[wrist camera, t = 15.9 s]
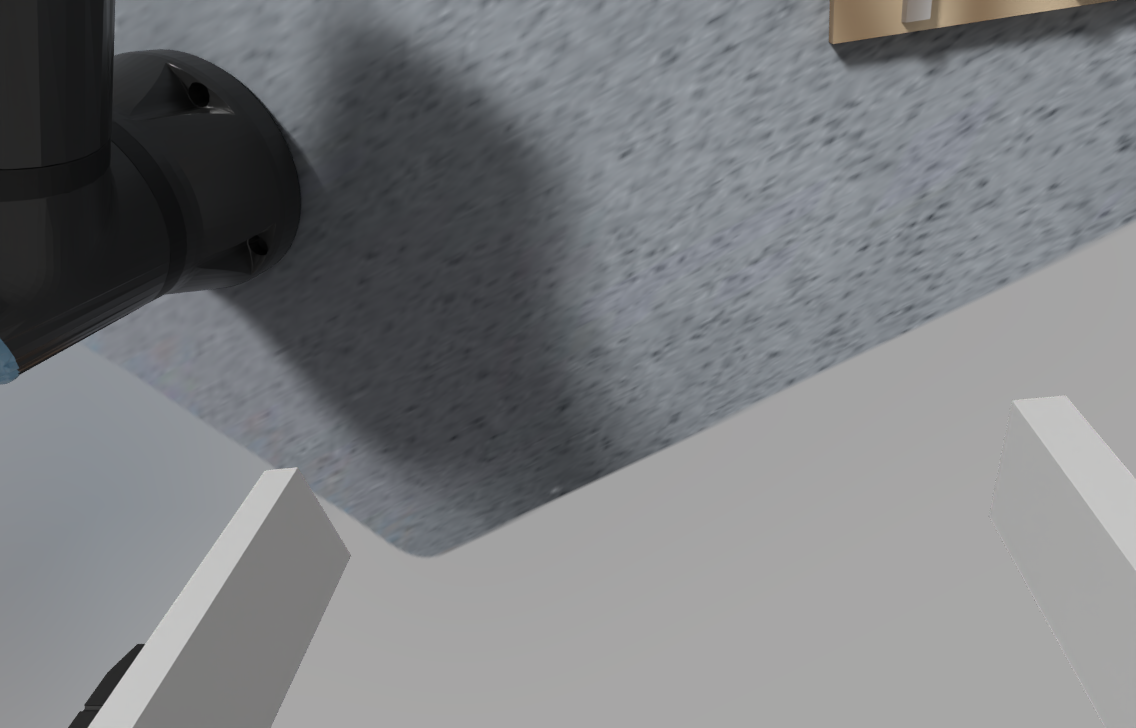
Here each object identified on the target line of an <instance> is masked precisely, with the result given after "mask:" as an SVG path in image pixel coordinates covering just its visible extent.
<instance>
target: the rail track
mask: <svg viewBox="0 0 1136 728" xmlns="http://www.w3.org/2000/svg"><path fill="white" fill-rule="evenodd" d="M1108 1H1115V0H830V18H829V42H830V43H832V44H837V43H843V42H849V41H856V40H862V39H869V38H875V37H882V36H888V35H895V34H901V33H908V32H914V31H921V30H927V29H934V28H940V27H947V26H953V25H959V24H966V23H972V22H979V21H985V20H992V19H998V18H1005V17H1011V16H1018V15H1024V14H1031V13H1037V12H1044V11H1050V10H1057V9H1063V8H1069V7H1076V6H1082V5H1089V4H1095V3H1102V2H1108Z"/></svg>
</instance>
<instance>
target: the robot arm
mask: <svg viewBox="0 0 1136 728" xmlns="http://www.w3.org/2000/svg"><path fill="white" fill-rule="evenodd" d="M114 27H115V0H0V384H7V383H10V382H11V381H13V380H14V379H16V378H17V377H18V376H19V375H20V374H21V373H23V372H25V371H27V370H29V369H30V368H32V367H34V366H36V365H38V364H40V363H41V362H43V361H45V360H47V359H49V358H50V357H52V356H54V355H56V354H57V353H59V352H61V351H63V350H65V349H67V348H68V347H70V346H72V345H74V344H76V343H77V342H79V341H81V340H83V339H85V338H86V337H88V336H90V335H92V334H94V333H95V332H97V331H99V330H101V329H103V328H104V327H106V326H108V325H110V324H112V323H113V322H115V321H117V320H119V319H121V318H122V317H124V316H126V315H128V314H130V313H131V312H133V311H135V310H137V309H139V308H140V307H142V306H144V305H145V304H147V303H149V302H151V301H153V300H155V299H157V298H159V297H160V296H162V295H165V294H174V293H183V292H192V291H201V290H209V289H218V288H226V287H231V286H234V285H237V284H241V283H243V282H246V281H248V280H250V279H252V278H253V277H255V276H257V275H259V274H260V273H262V272H264V271H265V270H267V269H269V268H270V267H272V266H273V265H274V264H276V263H277V262H278V261H279V260H280V259H281V258H282V257H283V256H284V254H285V253H286V252H287V250H288V249H289V247H290V245H291V243H292V241H293V239H294V237H295V234H296V231H297V227H298V223H299V217H300V189H299V183H298V177H297V173H296V169H295V166H294V162H293V159H292V157H291V154H290V151H289V149H288V147H287V145H286V142H285V140H284V138H283V136H282V134H281V133H280V131H279V129H278V127H277V126H276V124H275V123H274V121H273V120H272V118H271V117H270V115H269V114H268V112H267V111H266V110H265V108H264V107H263V106H262V105H261V104H260V102H259V101H258V100H257V99H256V98H255V97H254V96H253V95H252V94H251V93H250V92H249V91H248V90H247V89H246V88H245V87H244V86H243V85H242V84H241V83H240V82H238V81H237V80H236V79H235V78H234V77H232V76H231V75H230V74H228V73H227V72H225V71H224V70H222V69H221V68H219V67H217V66H216V65H214V64H212V63H210V62H208V61H206V60H204V59H202V58H199V57H197V56H194V55H191V54H188V53H184V52H180V51H174V50H163V49H160V50H146V51H136V52H128V53H122V54H118V55H115V56H114ZM989 518H990V520H991V522H992V523H993V525H994V527H995V529H996V531H997V532H998V534H999V536H1000V538H1001V540H1002V542H1003V543H1004V545H1005V547H1006V549H1007V551H1008V552H1009V554H1010V556H1011V558H1012V560H1013V562H1014V563H1015V565H1016V567H1017V569H1018V571H1019V573H1020V574H1021V576H1022V578H1023V580H1024V582H1025V583H1026V585H1027V587H1028V589H1029V591H1030V592H1031V594H1032V596H1033V598H1034V600H1035V602H1036V603H1037V605H1038V607H1039V609H1040V611H1041V613H1042V614H1043V616H1044V618H1045V620H1046V621H1047V623H1048V625H1049V627H1050V629H1051V631H1052V633H1053V634H1054V636H1055V638H1056V640H1057V641H1058V643H1059V645H1060V647H1061V649H1062V651H1063V653H1064V654H1065V656H1066V658H1067V660H1068V662H1069V663H1070V665H1071V667H1072V669H1073V671H1074V673H1075V674H1076V676H1077V678H1078V680H1079V682H1080V683H1081V685H1082V687H1083V689H1084V691H1085V692H1086V695H1087V696H1088V698H1089V700H1090V702H1091V704H1092V705H1093V707H1094V709H1095V711H1096V713H1097V715H1098V716H1099V718H1100V720H1101V722H1102V724H1103V725H1104V727H1105V728H1136V479H1135V478H1134V476H1133V475H1132V474H1131V473H1130V472H1129V470H1128V469H1127V468H1126V467H1125V466H1124V464H1123V463H1122V462H1121V461H1120V460H1119V459H1118V458H1117V456H1116V455H1115V454H1114V453H1113V452H1112V450H1111V449H1110V448H1109V447H1108V446H1107V444H1106V443H1105V442H1104V441H1103V440H1102V438H1101V437H1100V436H1099V435H1098V434H1097V432H1096V431H1095V430H1094V429H1093V428H1092V427H1091V425H1090V424H1089V423H1088V422H1087V421H1086V419H1085V418H1084V417H1083V416H1082V415H1081V413H1080V412H1079V411H1078V410H1077V409H1076V408H1075V406H1074V405H1073V404H1072V403H1071V402H1070V400H1069V399H1068V398H1067V397H1066V396H1054V397H1043V398H1033V399H1022V400H1012V403H1011V408H1010V413H1009V418H1008V423H1007V428H1006V433H1005V438H1004V443H1003V448H1002V453H1001V458H1000V464H999V469H998V473H997V478H996V483H995V488H994V493H993V498H992V503H991V508H990V514H989ZM350 556H351V555H350V553H349V551H348V550H347V548H346V547H345V545H344V543H343V541H342V540H341V538H340V537H339V535H338V533H337V532H336V530H335V528H334V527H333V525H332V523H331V522H330V520H329V518H328V517H327V515H326V513H325V512H324V510H323V508H322V507H321V505H320V504H319V502H318V500H317V498H316V497H315V495H314V493H313V492H312V490H311V489H310V487H309V485H308V484H307V482H306V480H305V479H304V477H303V475H302V474H301V472H300V470H299V469H298V467H297V468H286V469H276V470H265V471H264V473H263V474H262V476H261V477H260V479H259V480H258V482H257V483H256V484H255V486H254V487H253V489H252V490H251V492H250V493H249V494H248V496H247V497H246V499H245V500H244V502H243V503H242V505H241V506H240V508H239V509H238V511H237V512H236V513H235V515H234V516H233V518H232V519H231V521H230V522H229V524H228V525H227V526H226V528H225V529H224V531H223V532H222V534H221V535H220V537H219V538H218V540H217V541H216V542H215V544H214V545H213V547H212V548H211V550H210V551H209V553H208V554H207V555H206V557H205V558H204V560H203V561H202V563H201V564H200V566H199V567H198V569H197V570H196V572H195V573H194V574H193V576H192V577H191V579H190V580H189V582H188V583H187V584H186V586H185V588H184V589H183V590H182V592H181V593H180V595H179V596H178V597H177V599H176V601H175V602H174V603H173V605H172V606H171V608H170V609H169V611H168V612H167V613H166V615H165V616H164V618H163V619H162V621H161V622H160V624H159V625H158V627H157V628H156V629H155V631H154V632H153V634H152V635H151V637H150V638H149V640H148V641H147V642H146V644H137V645H136V646H135V647H134V648H133V649H132V650H131V651H130V652H129V653H128V654H127V655H125V657H123V658H122V660H120V661H119V662H118V663H117V664H116V665H115V666H114V667H113V668H112V669H111V670H110V671H109V672H108V673H107V674H106V675H105V677H104V678H103V680H102V681H101V683H100V684H99V685H98V687H97V688H96V689H95V691H94V692H93V694H92V695H91V696H90V698H89V699H88V701H87V702H86V703H85V709H84V710H83V711H82V712H81V711H80V712H79V713H78V715H77V716H76V718H75V719H74V720H73V722H72V723H71V725H70V726H69V727H68V728H271V725H272V723H273V721H274V719H275V717H276V715H277V713H278V710H279V708H280V706H281V704H282V702H283V700H284V698H285V695H286V693H287V691H288V689H289V687H290V685H291V683H292V681H293V678H294V676H295V674H296V672H297V670H298V668H299V666H300V663H301V661H302V659H303V657H304V655H305V653H306V650H307V648H308V646H309V644H310V642H311V640H312V638H313V636H314V633H315V631H316V629H317V627H318V625H319V622H320V621H321V618H322V616H323V614H324V612H325V610H326V607H327V606H328V603H329V601H330V599H331V597H332V595H333V593H334V591H335V588H336V586H337V584H338V582H339V580H340V578H341V576H342V573H343V571H344V569H345V567H346V565H347V563H348V561H349V559H350Z"/></svg>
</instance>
